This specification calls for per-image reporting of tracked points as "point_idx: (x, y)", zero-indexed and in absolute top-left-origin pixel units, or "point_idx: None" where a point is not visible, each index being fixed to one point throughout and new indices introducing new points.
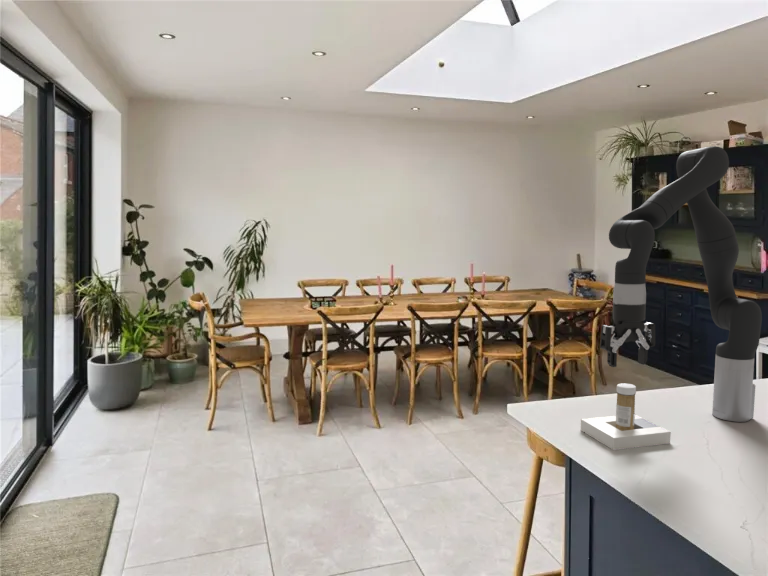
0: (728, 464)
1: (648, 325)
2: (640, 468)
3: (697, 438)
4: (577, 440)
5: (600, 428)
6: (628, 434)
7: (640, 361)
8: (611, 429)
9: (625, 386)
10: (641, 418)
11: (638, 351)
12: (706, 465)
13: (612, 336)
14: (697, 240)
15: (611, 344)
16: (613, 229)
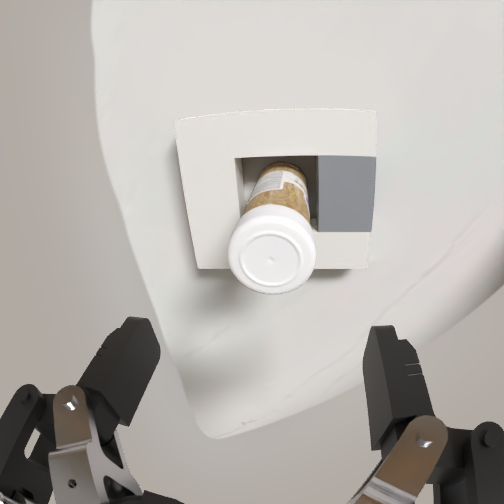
0: None
1: None
2: (215, 326)
3: (438, 243)
4: (150, 185)
5: (193, 204)
6: None
7: (370, 351)
8: (220, 217)
9: (254, 273)
10: (369, 158)
11: (387, 396)
12: (336, 343)
13: (55, 490)
14: None
15: (75, 439)
16: None
